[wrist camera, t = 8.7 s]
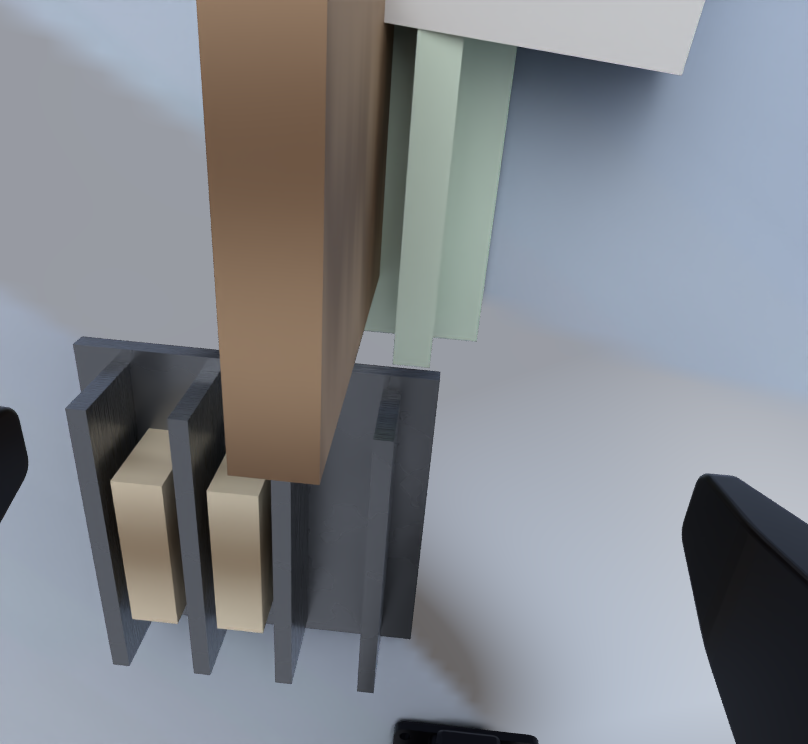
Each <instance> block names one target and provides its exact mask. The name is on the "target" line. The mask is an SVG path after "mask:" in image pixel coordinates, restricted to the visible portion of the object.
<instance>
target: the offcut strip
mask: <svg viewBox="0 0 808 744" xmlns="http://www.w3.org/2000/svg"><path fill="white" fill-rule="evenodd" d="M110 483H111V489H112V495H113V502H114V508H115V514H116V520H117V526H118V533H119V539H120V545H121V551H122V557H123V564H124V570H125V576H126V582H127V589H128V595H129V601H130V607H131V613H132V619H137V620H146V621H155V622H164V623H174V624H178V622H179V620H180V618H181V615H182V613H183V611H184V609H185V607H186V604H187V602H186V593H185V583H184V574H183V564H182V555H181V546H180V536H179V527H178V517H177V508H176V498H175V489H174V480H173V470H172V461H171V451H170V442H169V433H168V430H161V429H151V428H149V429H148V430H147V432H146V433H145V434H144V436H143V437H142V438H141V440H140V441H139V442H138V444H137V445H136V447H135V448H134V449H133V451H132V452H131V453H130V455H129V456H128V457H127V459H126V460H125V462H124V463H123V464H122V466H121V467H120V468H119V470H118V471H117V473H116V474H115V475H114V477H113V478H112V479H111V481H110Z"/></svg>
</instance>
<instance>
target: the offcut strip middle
mask: <svg viewBox="0 0 808 744" xmlns="http://www.w3.org/2000/svg"><path fill="white" fill-rule="evenodd" d="M207 503H208V516H209V529H210V541H211V554H212V567H213V579H214V592H215V605H216V618H217V628H219V629H229V630H238V631H247V632H256V633H263V631H264V628H265V625H266V622H267V618H268V615H269V612H270V609H271V605H272V602H273V556H272V512H271V480H266V479H256V478H247V477H237V476H228V475H227V459H226V455H225V456H224V458H223V460H222V462H221V464H220V466H219V468H218V470H217V472H216V474H215V476H214V478H213V480H212V482H211V484H210V485H209V487H208V489H207Z"/></svg>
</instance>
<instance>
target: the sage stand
mask: <svg viewBox="0 0 808 744" xmlns="http://www.w3.org/2000/svg"><path fill="white" fill-rule="evenodd" d="M516 52H517V46H513V45H508V44H502V43H497V42H491V41H485V40H480V39H474V38H469V37H463V36H457V35H452V34H446V33H441V32H435V31H429V30H424V29H418V28H413V27H407V26H401V25H396V24H394V41H393V58H392V74H391V91H390V108H389V125H388V142H387V159H386V176H385V193H384V210H383V227H382V244H381V261H380V276H379V280H378V283H377V287H376V290H375V294H374V297H373V300H372V304H371V307H370V311H369V314H368V318H367V321H366V325H365V328H364V331H372V332H383V333H393V334H395V340H394V353H393V364H396V365H405V366H416V367H426V368H429V367H430V358H431V349H432V339H433V337H434V338H445V339H455V340H465V341H477V334H478V327H479V320H480V313H481V305H482V298H483V291H484V284H485V276H486V269H487V262H488V255H489V247H490V240H491V233H492V226H493V219H494V211H495V204H496V197H497V190H498V182H499V175H500V168H501V161H502V153H503V146H504V139H505V132H506V124H507V117H508V110H509V103H510V95H511V88H512V81H513V74H514V66H515V59H516Z"/></svg>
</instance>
